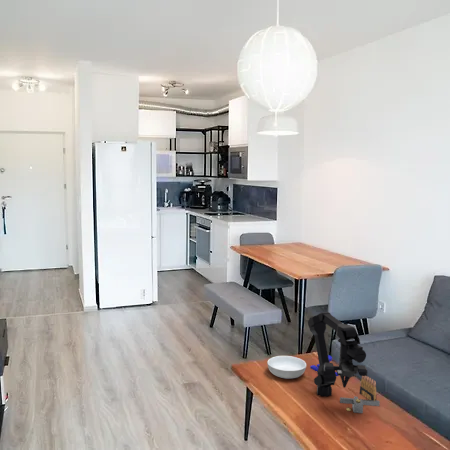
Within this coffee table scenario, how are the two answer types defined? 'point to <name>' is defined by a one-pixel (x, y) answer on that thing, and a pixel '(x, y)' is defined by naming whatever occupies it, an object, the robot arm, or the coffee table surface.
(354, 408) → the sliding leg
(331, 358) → the mount
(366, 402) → the hole plate
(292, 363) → the serving bowl
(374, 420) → the coffee table surface
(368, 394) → the ammunition clip
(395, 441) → the coffee table surface
